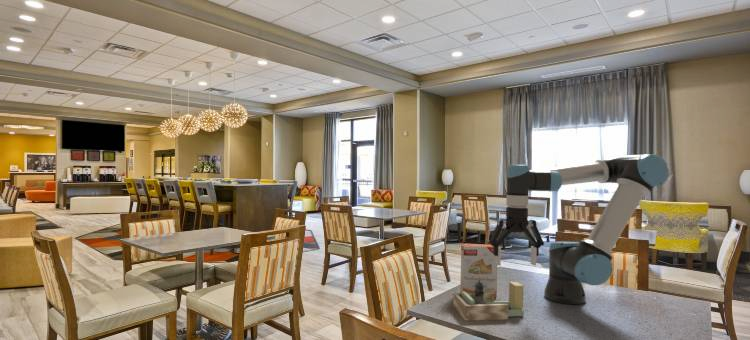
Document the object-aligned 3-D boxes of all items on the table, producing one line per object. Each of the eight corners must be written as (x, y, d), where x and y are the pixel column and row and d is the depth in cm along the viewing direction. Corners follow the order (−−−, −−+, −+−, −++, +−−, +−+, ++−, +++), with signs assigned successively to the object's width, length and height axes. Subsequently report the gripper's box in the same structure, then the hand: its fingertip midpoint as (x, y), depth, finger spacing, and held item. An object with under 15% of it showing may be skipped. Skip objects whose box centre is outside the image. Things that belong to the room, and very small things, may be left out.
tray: (513, 306, 149) (513, 279, 149) (526, 315, 139) (526, 287, 139) (461, 307, 147) (462, 280, 147) (470, 317, 137) (471, 288, 137)
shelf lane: (492, 305, 150) (492, 292, 150) (508, 319, 137) (508, 304, 137) (453, 306, 149) (453, 293, 149) (465, 320, 135) (465, 306, 135)
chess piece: (469, 314, 141) (470, 281, 141) (471, 309, 146) (471, 276, 146) (486, 316, 139) (487, 282, 139) (487, 311, 145) (488, 278, 145)
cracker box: (462, 297, 160) (463, 246, 160) (460, 292, 166) (460, 243, 166) (497, 298, 159) (498, 246, 159) (493, 293, 165) (494, 243, 165)
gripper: (543, 206, 149) (542, 262, 149) (480, 205, 146) (479, 262, 147) (555, 208, 142) (553, 267, 142) (488, 207, 139) (486, 267, 139)
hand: (515, 264), depth 144 cm, fingers open, 13 cm apart
